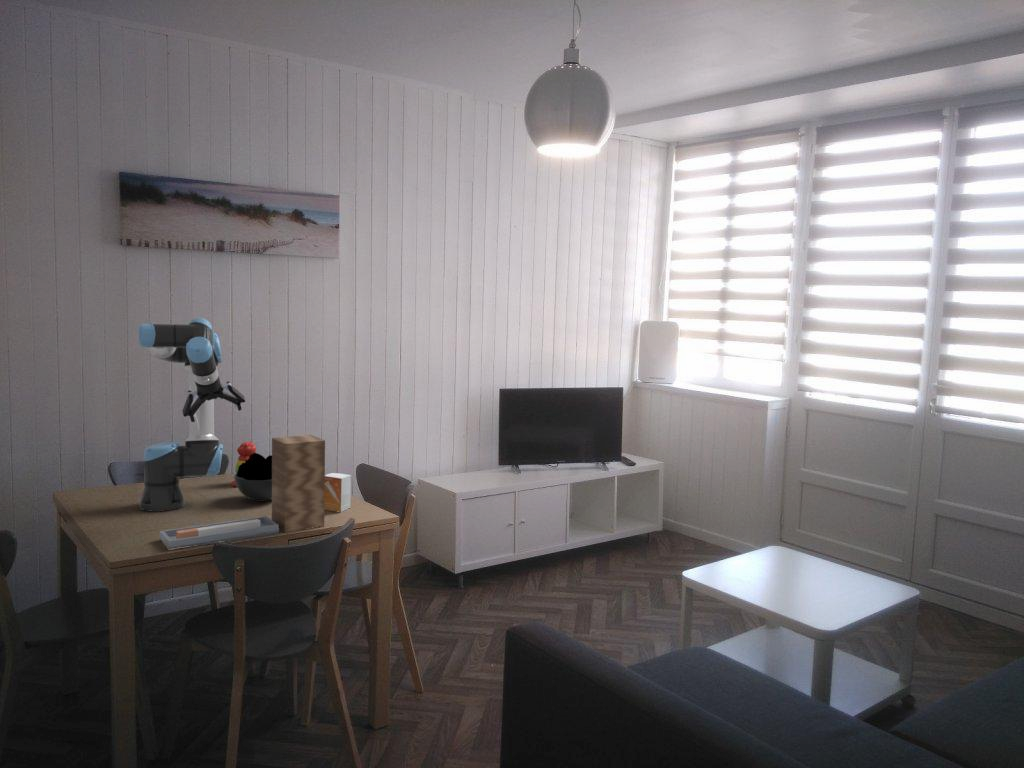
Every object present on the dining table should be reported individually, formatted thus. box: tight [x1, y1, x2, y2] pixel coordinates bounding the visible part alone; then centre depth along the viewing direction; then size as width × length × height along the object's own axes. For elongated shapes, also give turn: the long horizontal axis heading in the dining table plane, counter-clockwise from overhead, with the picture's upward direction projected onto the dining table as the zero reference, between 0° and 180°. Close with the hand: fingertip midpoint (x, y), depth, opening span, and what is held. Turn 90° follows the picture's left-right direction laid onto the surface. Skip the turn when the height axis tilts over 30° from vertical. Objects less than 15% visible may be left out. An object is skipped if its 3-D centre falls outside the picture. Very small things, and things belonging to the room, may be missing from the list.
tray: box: [159, 515, 280, 549], centre depth 248 cm, size 34×12×3 cm, turn 127°
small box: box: [324, 472, 352, 513], centre depth 284 cm, size 8×6×13 cm
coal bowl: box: [233, 452, 272, 502], centre depth 293 cm, size 20×20×19 cm
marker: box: [176, 519, 260, 539], centre depth 248 cm, size 26×3×3 cm, turn 129°
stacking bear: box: [230, 440, 257, 487], centre depth 316 cm, size 11×10×18 cm
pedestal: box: [271, 434, 326, 533], centre depth 262 cm, size 14×12×30 cm
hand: (218, 421), depth 267 cm, fingers open, 13 cm apart
